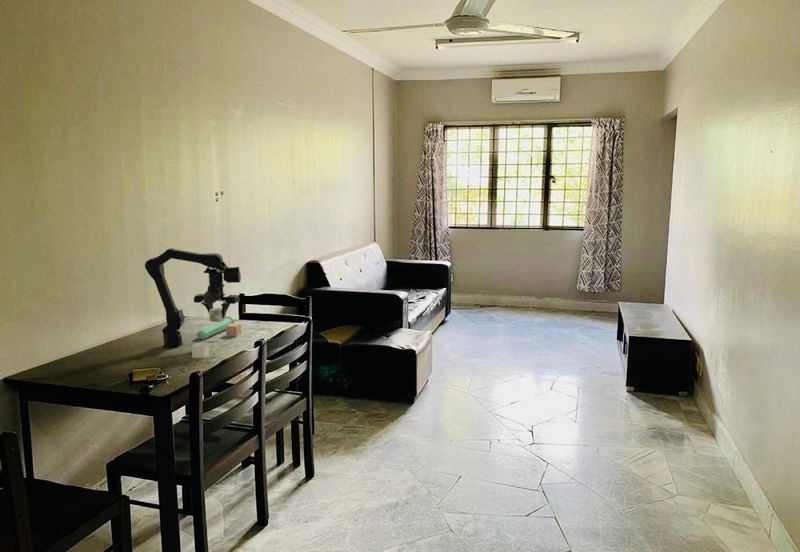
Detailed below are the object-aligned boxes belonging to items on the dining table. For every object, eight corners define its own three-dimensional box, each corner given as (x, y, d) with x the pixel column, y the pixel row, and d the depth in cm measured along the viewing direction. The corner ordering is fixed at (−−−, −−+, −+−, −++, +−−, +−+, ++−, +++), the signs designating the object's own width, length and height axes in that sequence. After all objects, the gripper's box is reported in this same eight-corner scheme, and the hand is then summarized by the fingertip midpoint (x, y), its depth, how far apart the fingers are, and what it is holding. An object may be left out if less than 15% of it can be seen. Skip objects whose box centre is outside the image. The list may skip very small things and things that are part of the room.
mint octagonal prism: (202, 327, 266) (231, 314, 290) (192, 331, 268) (222, 318, 292) (207, 339, 267) (236, 325, 290) (197, 343, 269) (226, 329, 292)
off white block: (192, 357, 242) (191, 345, 241) (198, 354, 247) (197, 342, 246) (203, 358, 241) (203, 346, 241) (209, 354, 246) (208, 343, 245)
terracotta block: (226, 336, 274) (226, 326, 274) (231, 333, 279) (230, 323, 278) (236, 336, 274) (236, 326, 273) (241, 334, 279) (240, 323, 278)
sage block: (209, 321, 257) (209, 310, 256) (214, 318, 262) (214, 307, 261) (220, 321, 256) (220, 310, 255) (225, 319, 261) (225, 308, 260)
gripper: (186, 285, 250) (188, 321, 252) (228, 286, 247) (230, 323, 250) (198, 281, 260) (200, 315, 263) (239, 282, 258) (240, 317, 261)
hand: (217, 318), depth 259 cm, fingers closed on sage block, 5 cm apart
